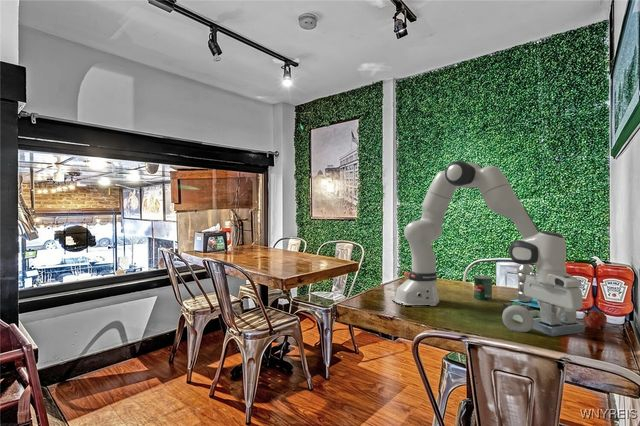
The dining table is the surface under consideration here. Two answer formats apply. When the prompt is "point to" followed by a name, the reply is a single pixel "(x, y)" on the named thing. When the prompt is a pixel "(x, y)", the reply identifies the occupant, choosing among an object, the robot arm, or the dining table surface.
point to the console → (511, 305)
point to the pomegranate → (595, 319)
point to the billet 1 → (549, 313)
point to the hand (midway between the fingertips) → (550, 315)
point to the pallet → (558, 328)
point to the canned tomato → (483, 288)
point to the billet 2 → (568, 317)
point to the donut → (521, 311)
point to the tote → (534, 313)
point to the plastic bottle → (523, 282)
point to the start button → (516, 303)
